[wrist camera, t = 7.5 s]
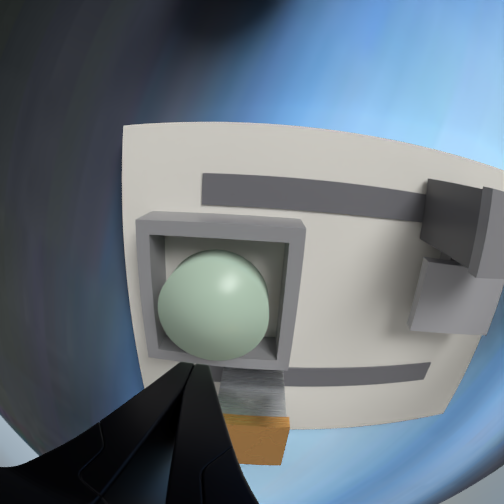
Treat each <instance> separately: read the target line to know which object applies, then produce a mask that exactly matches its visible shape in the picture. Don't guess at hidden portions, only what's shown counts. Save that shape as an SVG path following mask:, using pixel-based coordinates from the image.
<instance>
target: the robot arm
mask: <svg viewBox="0 0 504 504" xmlns="http://www.w3.org/2000/svg"><path fill="white" fill-rule="evenodd" d="M0 504H259V503H258V501H257V499H256V498H255V496H254V494H253V493H252V491H251V489H250V487H249V485H248V483H247V481H246V479H245V477H244V475H243V472H242V470H241V467H240V465H239V462H238V460H237V457H236V454H235V450H234V449H233V445H232V442H231V438H230V435H229V432H228V429H227V426H226V422H225V419H224V416H223V412H222V409H221V406H220V402H219V399H218V395H217V392H216V388H215V384H214V381H213V377H212V373H211V370H210V366H209V365H206V364H195V365H194V364H193V363H189V362H179V363H178V364H177V365H175V366H174V367H173V368H171V369H170V370H169V371H167V372H166V373H165V374H163V375H162V376H161V377H160V378H158V379H157V380H156V381H154V382H153V383H152V384H150V385H149V386H148V387H146V388H145V389H144V390H142V391H141V392H140V393H138V394H137V395H135V396H134V397H133V398H131V399H130V400H129V401H127V402H126V403H125V404H123V405H122V406H120V407H119V408H118V409H116V410H115V411H114V412H112V413H111V414H109V415H108V416H107V417H105V418H104V419H102V420H101V421H100V423H99V422H98V423H97V424H95V425H94V426H92V427H91V428H89V429H88V430H86V431H85V432H83V433H82V434H80V435H79V436H77V437H76V438H74V439H72V440H70V441H69V442H67V443H65V444H63V445H61V446H59V447H57V448H56V449H54V450H52V451H50V452H47V453H45V454H43V455H41V456H39V457H37V458H35V459H33V460H31V461H29V462H27V463H24V464H22V465H18V466H14V467H0Z"/></svg>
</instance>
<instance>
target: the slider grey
mask: <svg viewBox="0 0 504 504" xmlns="http://www.w3.org/2000/svg"><path fill="white" fill-rule="evenodd" d="M420 239H421V240H422V241H424V242H426V243H428V244H429V245H431V246H433V247H434V248H436V249H438V250H439V251H441V252H442V253H444V254H446V255H447V256H449V257H451V258H452V259H454V260H455V261H457V262H459V263H460V264H462V265H463V266H465V267H466V268H468V273H469V274H471V275H472V276H474V277H475V278H487V279H504V192H503V191H500V190H497V189H493V188H489V187H484V186H483V189H480V188H475V187H471V186H466V185H461V184H456V183H451V182H446V181H440V180H435V179H429V178H428V182H427V191H426V200H425V207H424V214H423V221H422V227H421V233H420Z"/></svg>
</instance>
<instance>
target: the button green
mask: <svg viewBox="0 0 504 504" xmlns="http://www.w3.org/2000/svg"><path fill="white" fill-rule="evenodd" d="M158 315H159V319H160V322H161V325H162V327H163V329H164V331H165V332H166V334H167V335H168V337H169V338H170V339H171V340H172V341H173V342H174V343H175V344H176V345H177V346H178V347H180V348H181V349H182V350H184V351H185V352H187V353H189V354H191V355H193V356H196V357H198V358H202V359H206V360H213V361H224V360H231V359H235V358H238V357H241V356H243V355H245V354H247V353H248V352H250V351H251V350H253V349H254V348H255V347H256V346H257V345H258V344H259V343H260V341H261V340H262V339H263V337H264V335H265V333H266V330H267V327H268V322H269V295H268V289H267V285H266V282H265V280H264V278H263V276H262V275H261V273H260V272H259V270H258V269H257V268H256V267H255V266H254V265H253V264H252V263H251V262H250V261H248V260H247V259H245V258H244V257H242V256H240V255H238V254H236V253H233V252H230V251H226V250H218V249H212V250H204V251H200V252H197V253H195V254H192V255H191V256H189V257H187V258H186V259H185V260H183V261H182V262H181V263H180V264H179V265H178V266H177V268H176V269H175V270H174V272H173V273H172V274H171V275H170V277H169V278H168V279H167V281H166V282H165V284H164V285H163V287H162V289H161V291H160V294H159V298H158Z"/></svg>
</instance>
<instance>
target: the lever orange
mask: <svg viewBox="0 0 504 504" xmlns="http://www.w3.org/2000/svg"><path fill="white" fill-rule="evenodd" d="M218 399H219V402H220V406H221V409H222V412H223V416H224V419H225V422H226V426H227V429H228V432H229V435H230V438H231V442H232V445H233V449H234V450H235V454H236V457H237V460H238V462H239V464H254V465H281V462H282V458H283V454H284V450H285V446H286V442H287V438H288V434H289V429H290V421H289V417H286V402H285V388H284V374H283V370H262V369H246V368H233V367H224V368H223V373H222V378H221V383H220V388H219V394H218Z"/></svg>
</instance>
